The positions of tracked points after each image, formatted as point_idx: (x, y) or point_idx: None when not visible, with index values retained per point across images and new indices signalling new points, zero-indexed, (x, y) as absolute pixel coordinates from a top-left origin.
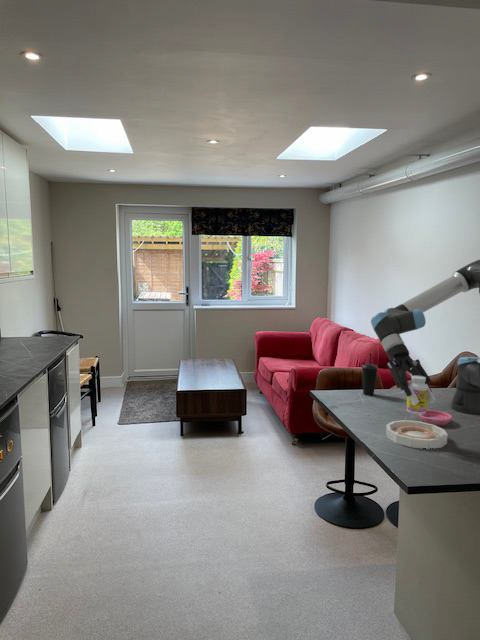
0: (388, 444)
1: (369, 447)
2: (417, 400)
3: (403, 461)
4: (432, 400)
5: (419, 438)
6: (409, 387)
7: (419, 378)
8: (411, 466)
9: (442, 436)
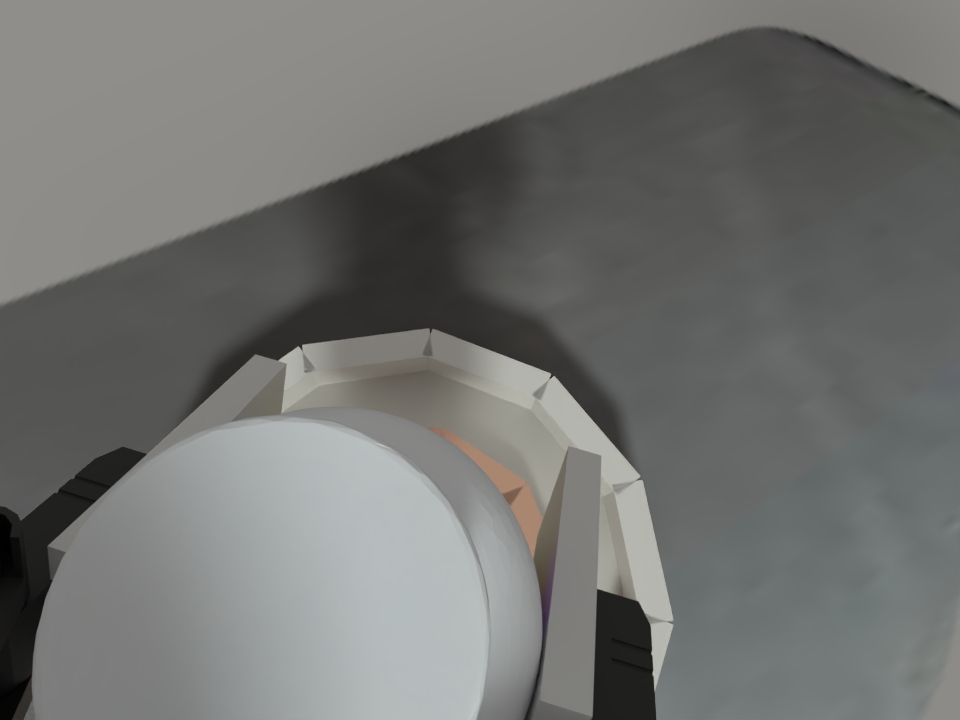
0: (731, 643)
1: (924, 702)
2: (588, 467)
3: (886, 381)
4: (279, 396)
5: (578, 444)
6: (586, 689)
7: (441, 504)
8: (900, 309)
9: (370, 354)
